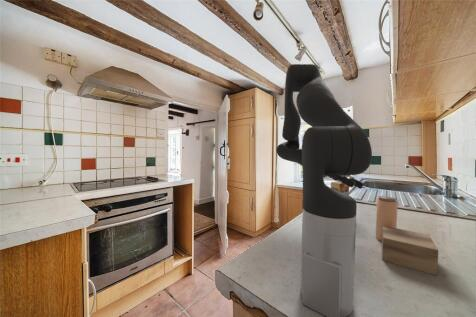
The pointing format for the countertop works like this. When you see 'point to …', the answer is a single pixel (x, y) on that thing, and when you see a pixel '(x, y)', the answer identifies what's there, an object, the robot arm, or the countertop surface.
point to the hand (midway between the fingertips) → (358, 185)
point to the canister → (385, 214)
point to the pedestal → (409, 249)
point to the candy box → (340, 187)
